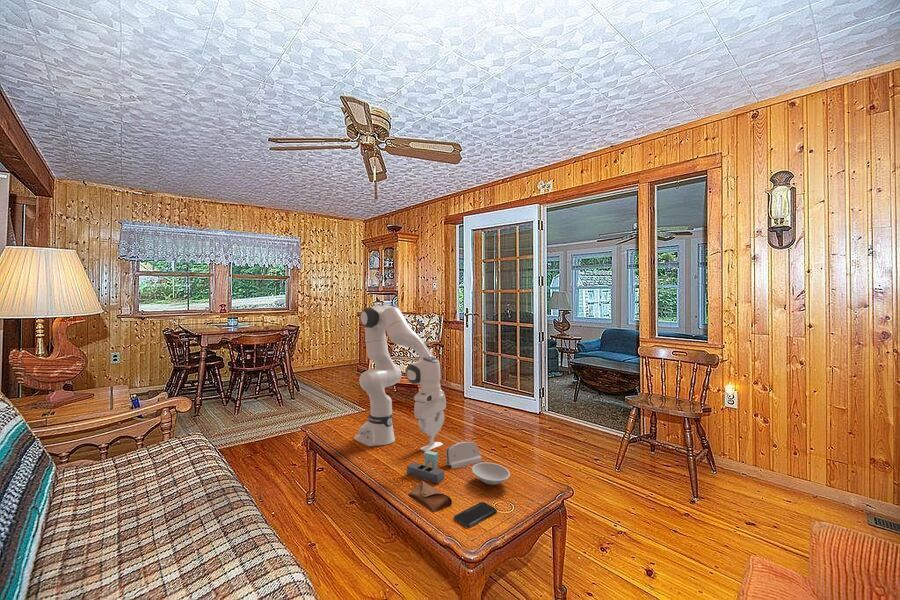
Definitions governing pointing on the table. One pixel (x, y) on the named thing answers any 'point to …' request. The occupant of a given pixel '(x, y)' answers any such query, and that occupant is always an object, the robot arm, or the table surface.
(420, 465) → the grey rectangular block
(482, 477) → the dish
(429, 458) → the pale teal plug block
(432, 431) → the heart sculpture
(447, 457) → the napkin holder
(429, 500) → the sunglasses case
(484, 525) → the table surface
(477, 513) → the phone
